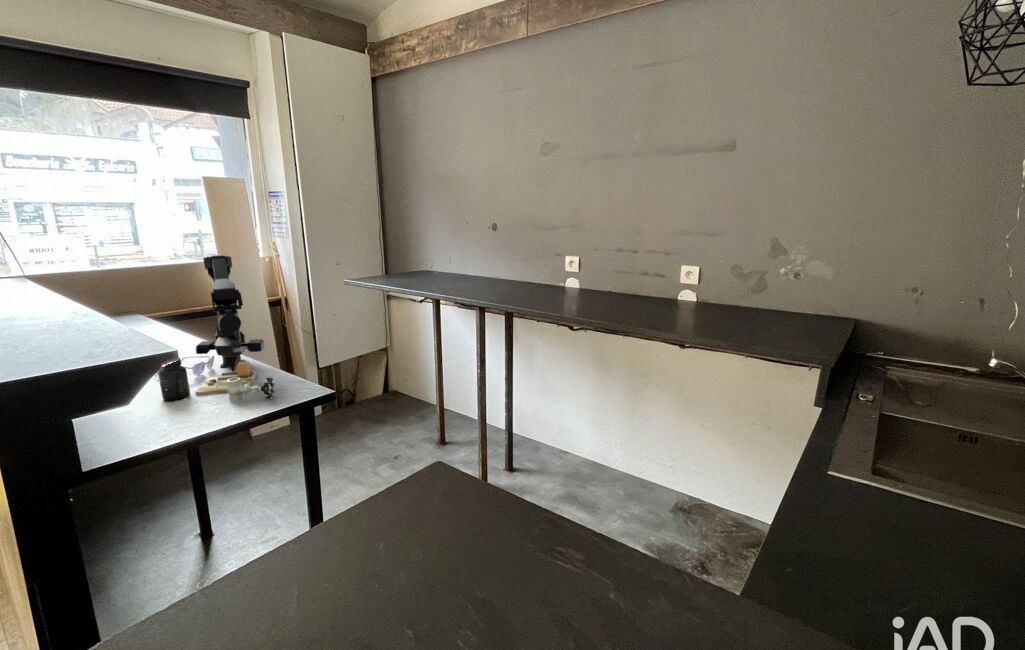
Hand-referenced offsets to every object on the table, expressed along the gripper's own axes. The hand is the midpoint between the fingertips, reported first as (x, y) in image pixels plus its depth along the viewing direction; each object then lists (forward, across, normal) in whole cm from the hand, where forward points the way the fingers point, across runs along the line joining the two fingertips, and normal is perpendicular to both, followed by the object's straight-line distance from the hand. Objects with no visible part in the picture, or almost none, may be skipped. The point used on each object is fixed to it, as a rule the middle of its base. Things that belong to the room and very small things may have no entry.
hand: (233, 371), depth 159 cm
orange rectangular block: (+1, +3, 0) cm, 3 cm away
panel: (+3, -1, -5) cm, 6 cm away
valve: (+3, +9, -19) cm, 22 cm away
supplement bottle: (+4, -12, -13) cm, 18 cm away
